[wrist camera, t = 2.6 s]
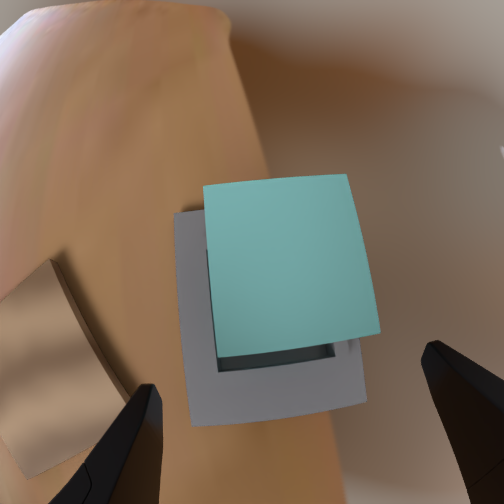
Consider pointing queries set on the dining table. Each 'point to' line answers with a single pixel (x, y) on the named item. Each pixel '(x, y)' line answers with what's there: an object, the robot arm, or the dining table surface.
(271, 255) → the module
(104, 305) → the dining table surface
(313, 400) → the case base
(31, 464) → the board
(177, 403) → the dining table surface
